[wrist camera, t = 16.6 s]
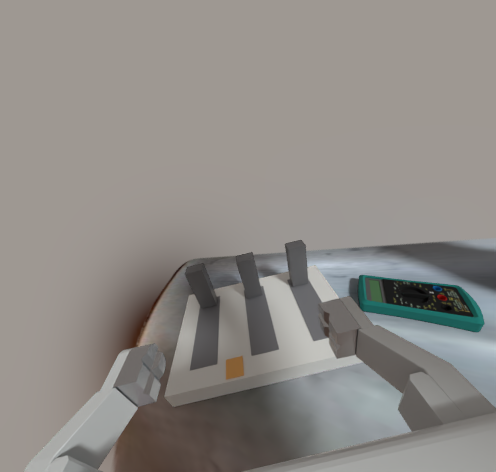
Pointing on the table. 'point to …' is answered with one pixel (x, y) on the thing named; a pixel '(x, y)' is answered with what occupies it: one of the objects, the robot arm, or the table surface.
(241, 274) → the post
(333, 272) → the table surface
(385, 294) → the digital multimeter
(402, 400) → the robot arm
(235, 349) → the box
